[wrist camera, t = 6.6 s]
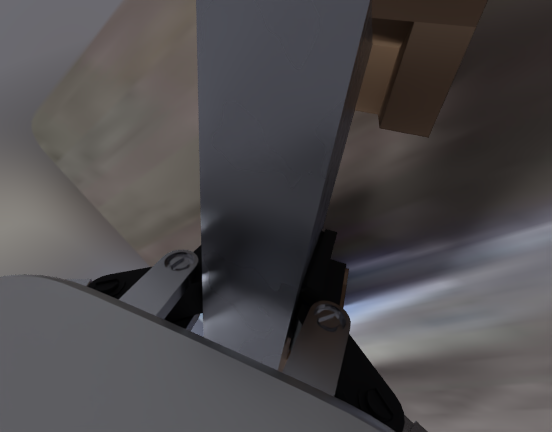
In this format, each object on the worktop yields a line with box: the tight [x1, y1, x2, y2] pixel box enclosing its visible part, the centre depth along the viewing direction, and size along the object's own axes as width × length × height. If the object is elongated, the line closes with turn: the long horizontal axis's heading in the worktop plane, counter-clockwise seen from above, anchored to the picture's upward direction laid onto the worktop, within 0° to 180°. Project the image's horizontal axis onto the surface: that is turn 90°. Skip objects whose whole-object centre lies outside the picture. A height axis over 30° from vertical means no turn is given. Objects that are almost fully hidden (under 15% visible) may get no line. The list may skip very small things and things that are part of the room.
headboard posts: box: [284, 0, 488, 367], centre depth 15 cm, size 22×8×8 cm, turn 172°
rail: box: [196, 0, 373, 372], centre depth 10 cm, size 17×3×5 cm, turn 172°
